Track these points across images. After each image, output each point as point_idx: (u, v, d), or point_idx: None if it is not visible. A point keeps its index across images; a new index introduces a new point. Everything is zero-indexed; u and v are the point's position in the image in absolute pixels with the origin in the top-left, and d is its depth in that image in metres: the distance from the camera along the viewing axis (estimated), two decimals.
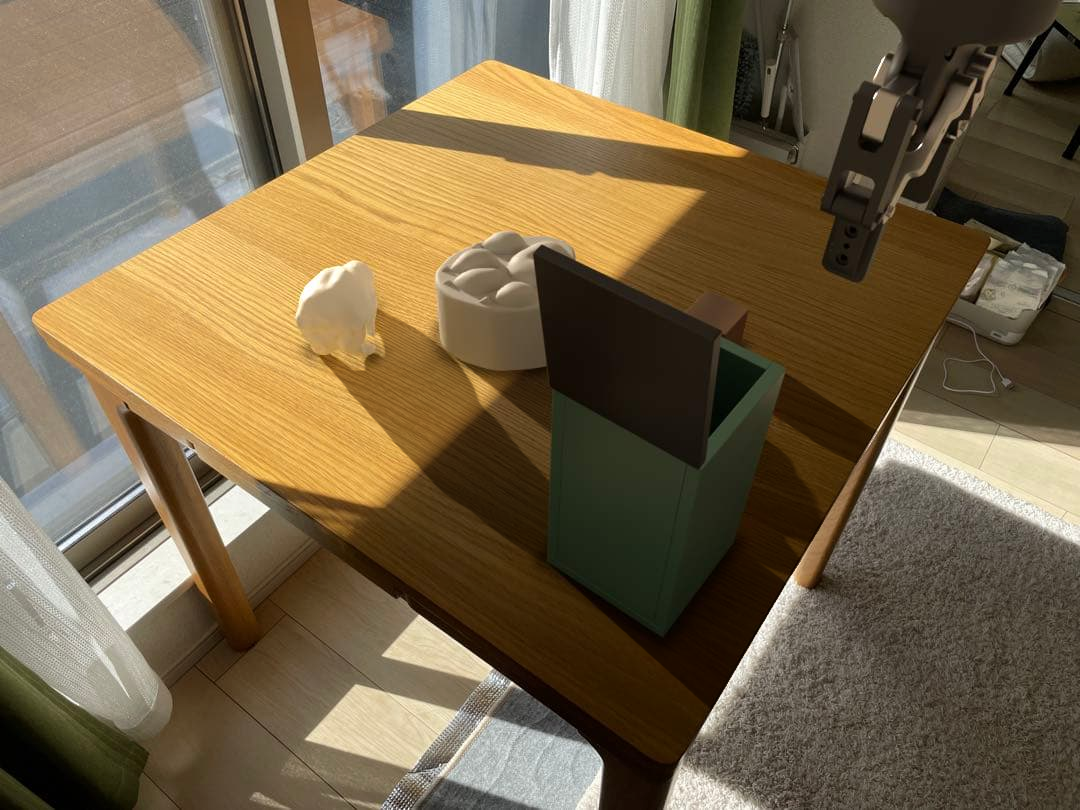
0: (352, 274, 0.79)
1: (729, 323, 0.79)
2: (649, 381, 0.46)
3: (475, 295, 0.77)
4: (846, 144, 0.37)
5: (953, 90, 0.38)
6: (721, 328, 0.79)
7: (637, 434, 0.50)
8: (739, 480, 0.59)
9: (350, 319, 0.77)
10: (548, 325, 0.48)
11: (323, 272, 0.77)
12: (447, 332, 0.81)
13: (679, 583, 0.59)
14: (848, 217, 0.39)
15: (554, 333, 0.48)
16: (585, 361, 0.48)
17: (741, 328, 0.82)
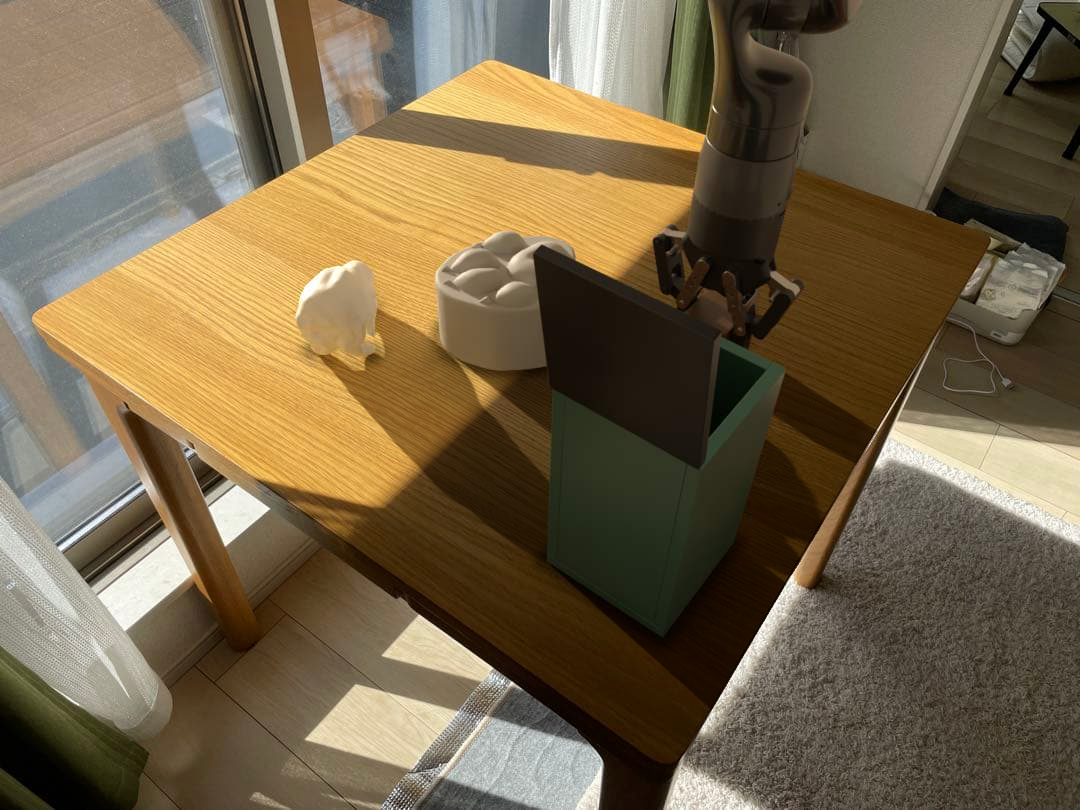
0: (352, 274, 0.79)
1: (729, 323, 0.79)
2: (649, 381, 0.46)
3: (475, 295, 0.77)
4: None
5: (699, 259, 0.76)
6: (721, 328, 0.79)
7: (637, 434, 0.50)
8: (739, 480, 0.59)
9: (350, 319, 0.77)
10: (548, 325, 0.48)
11: (323, 272, 0.77)
12: (447, 332, 0.81)
13: (679, 583, 0.59)
14: None
15: (554, 333, 0.48)
16: (585, 361, 0.48)
17: None
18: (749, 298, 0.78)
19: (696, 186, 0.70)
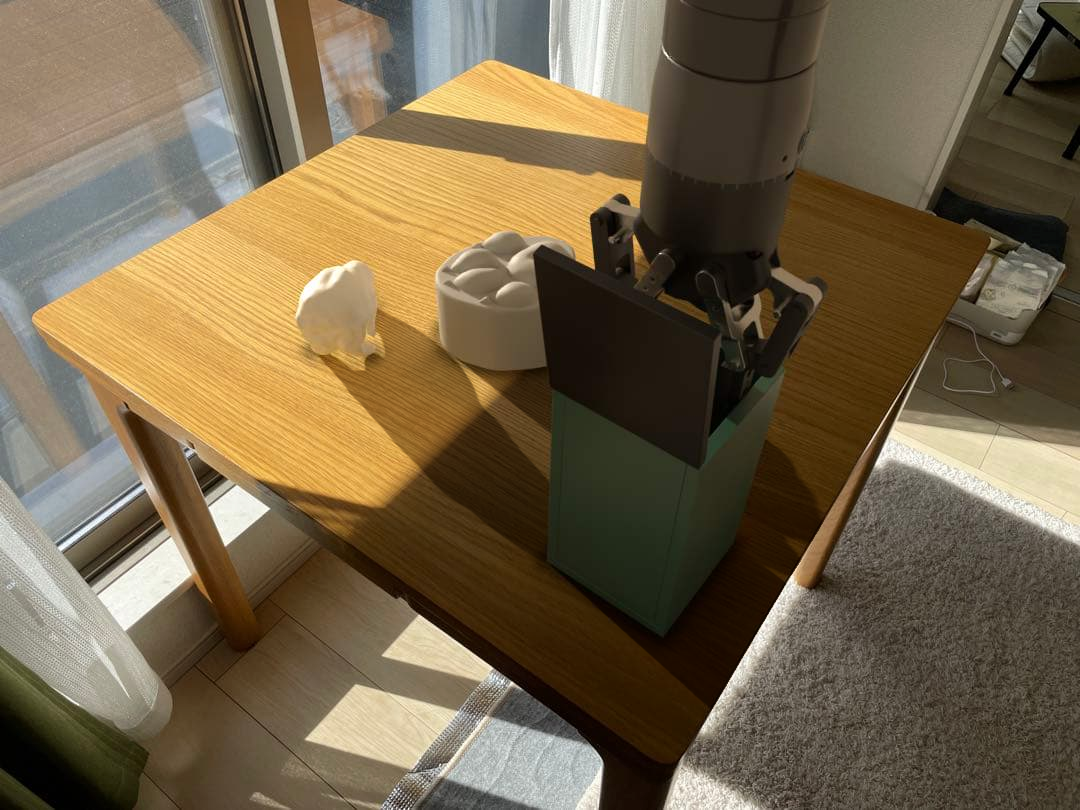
0: (352, 274, 0.79)
1: None
2: (649, 381, 0.46)
3: (475, 295, 0.77)
4: None
5: (660, 251, 0.49)
6: None
7: (637, 434, 0.50)
8: (739, 480, 0.59)
9: (350, 319, 0.77)
10: (548, 325, 0.48)
11: (323, 272, 0.77)
12: (447, 332, 0.81)
13: (679, 583, 0.59)
14: None
15: (554, 333, 0.48)
16: (585, 361, 0.48)
17: None
18: (745, 312, 0.50)
19: (649, 132, 0.43)
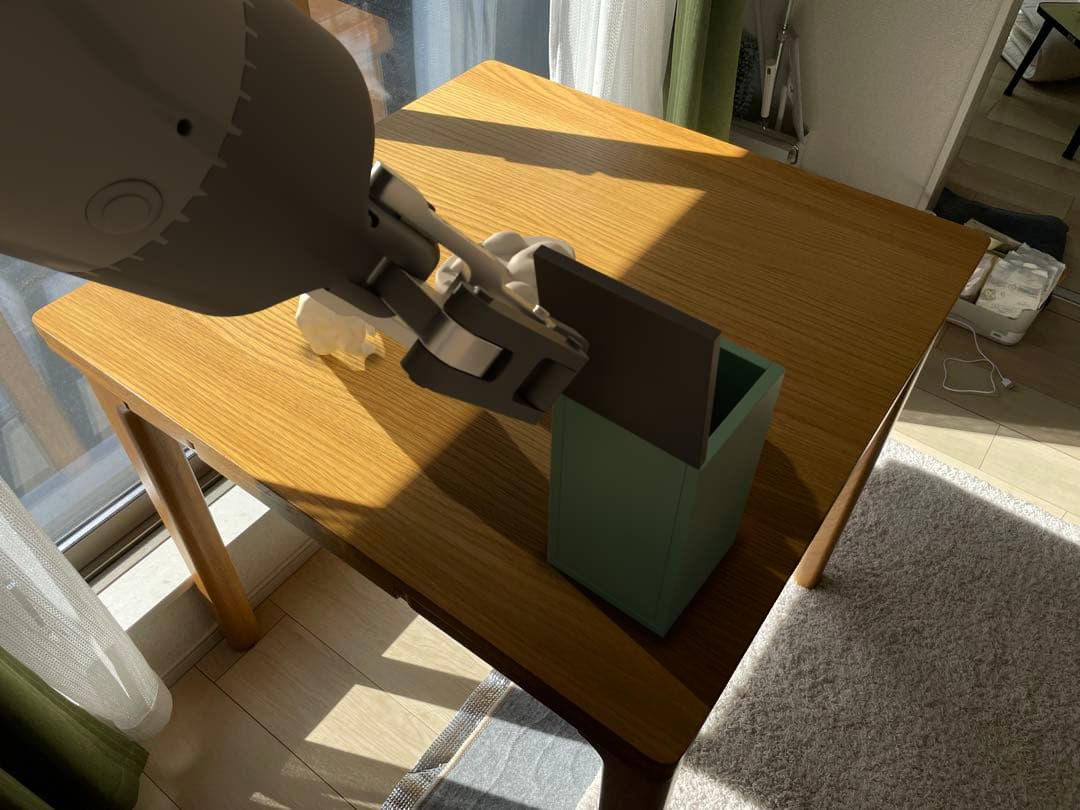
0: None
1: None
2: (649, 381, 0.46)
3: None
4: (484, 397, 0.22)
5: (395, 202, 0.23)
6: None
7: (637, 434, 0.50)
8: (739, 480, 0.59)
9: (350, 319, 0.77)
10: None
11: None
12: None
13: (679, 583, 0.59)
14: (564, 388, 0.25)
15: None
16: None
17: None
18: None
19: (216, 26, 0.16)
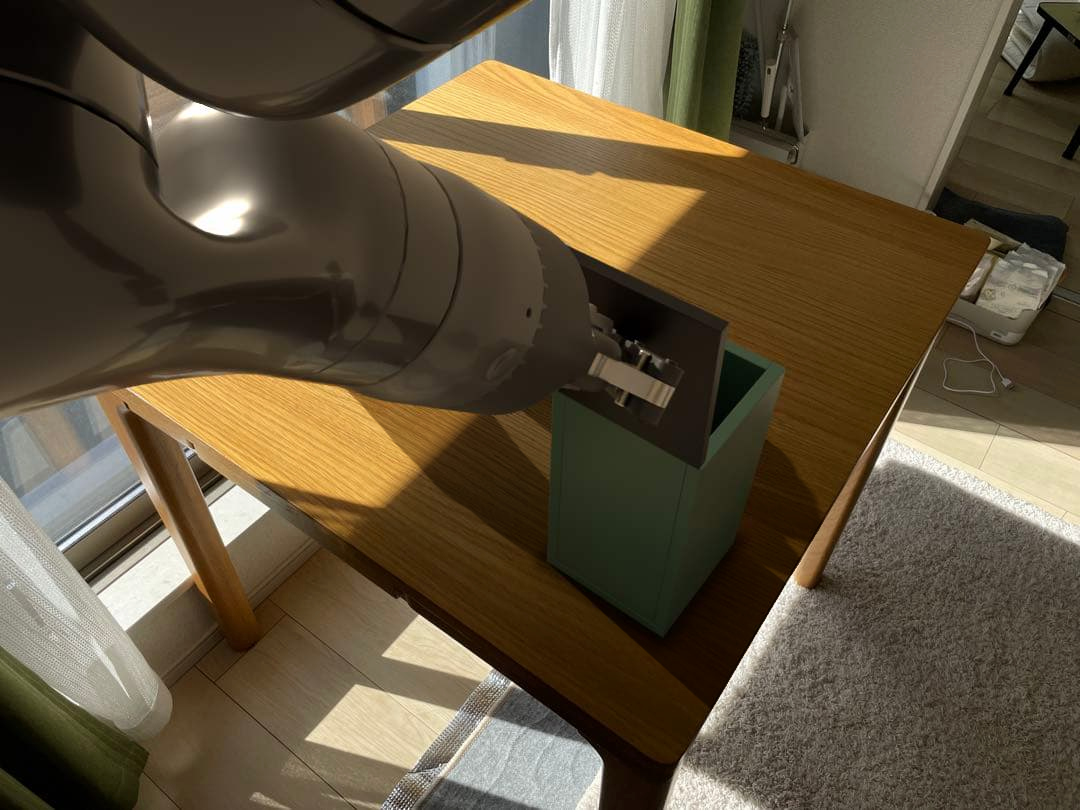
0: None
1: None
2: None
3: None
4: None
5: None
6: None
7: (637, 434, 0.50)
8: (739, 480, 0.59)
9: None
10: None
11: None
12: None
13: (679, 583, 0.59)
14: None
15: None
16: None
17: None
18: None
19: (530, 252, 0.28)
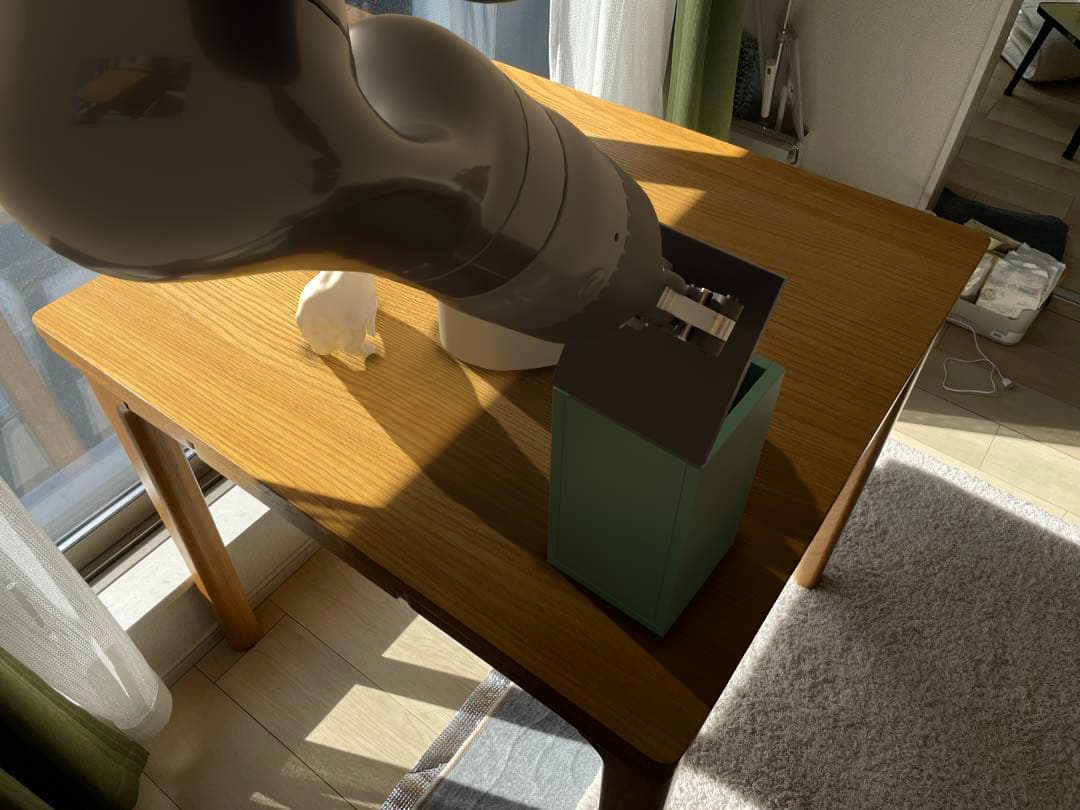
0: (352, 274, 0.79)
1: None
2: (687, 346, 0.48)
3: None
4: None
5: None
6: None
7: (639, 429, 0.50)
8: (739, 480, 0.59)
9: (350, 319, 0.77)
10: None
11: (323, 272, 0.77)
12: (447, 332, 0.81)
13: (679, 583, 0.59)
14: None
15: None
16: (617, 334, 0.50)
17: None
18: None
19: (617, 182, 0.31)
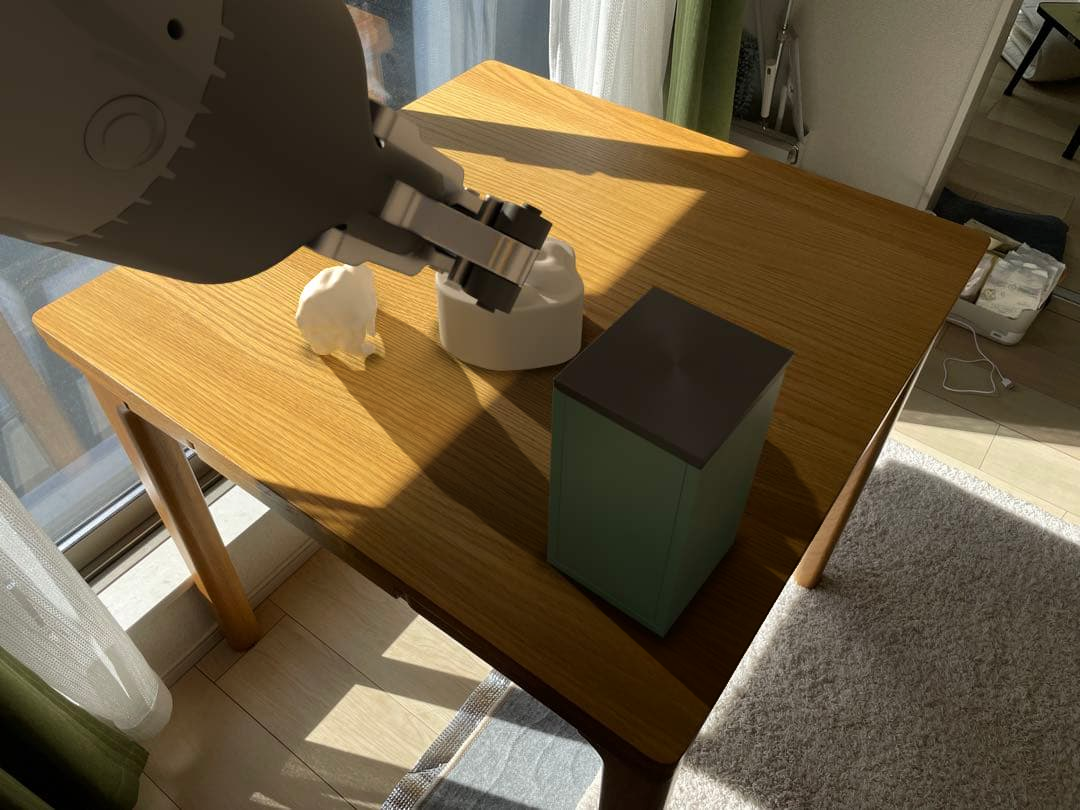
0: (352, 274, 0.79)
1: None
2: (704, 376, 0.53)
3: None
4: None
5: (388, 133, 0.22)
6: None
7: (644, 424, 0.51)
8: (739, 480, 0.59)
9: (350, 319, 0.77)
10: (616, 329, 0.56)
11: (323, 272, 0.77)
12: (447, 332, 0.81)
13: (679, 583, 0.59)
14: None
15: (618, 335, 0.56)
16: (636, 357, 0.54)
17: None
18: None
19: None
